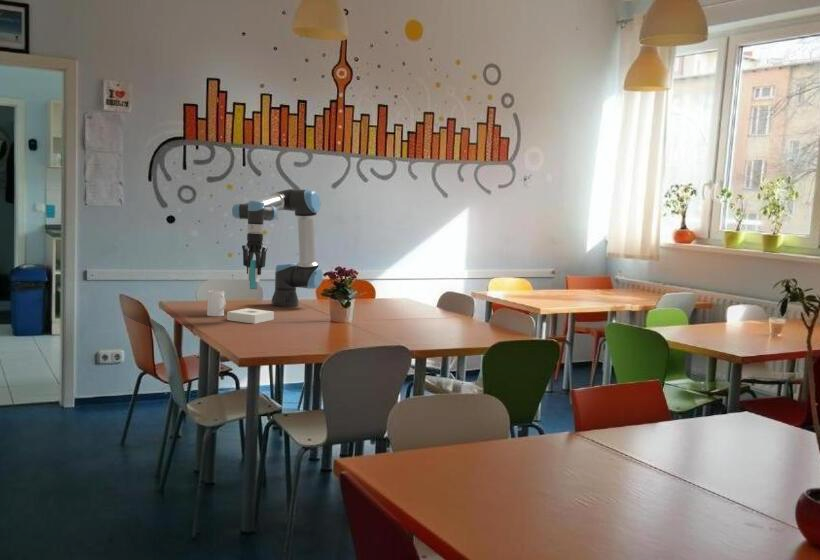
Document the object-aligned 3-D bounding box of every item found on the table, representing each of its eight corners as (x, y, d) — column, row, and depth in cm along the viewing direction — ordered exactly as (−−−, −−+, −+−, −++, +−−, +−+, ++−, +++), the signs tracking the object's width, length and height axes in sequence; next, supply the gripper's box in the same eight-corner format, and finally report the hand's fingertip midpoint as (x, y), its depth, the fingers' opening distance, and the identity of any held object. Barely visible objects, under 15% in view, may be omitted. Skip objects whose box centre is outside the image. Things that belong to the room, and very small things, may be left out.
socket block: (227, 320, 391) (227, 311, 391) (246, 316, 406) (247, 308, 405) (254, 323, 385) (254, 315, 384) (273, 319, 399) (273, 311, 399)
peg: (248, 288, 393) (248, 260, 392) (252, 288, 396) (253, 259, 395) (254, 289, 392) (255, 260, 390) (258, 288, 395) (259, 260, 393)
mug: (231, 316, 402) (231, 292, 401) (215, 317, 396) (216, 293, 395) (218, 313, 410) (219, 289, 409) (203, 314, 405) (204, 290, 403)
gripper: (236, 232, 391) (234, 280, 393) (265, 234, 385) (263, 283, 387) (245, 231, 398) (243, 279, 400) (274, 233, 391) (272, 282, 394)
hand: (253, 281), depth 394 cm, fingers closed on peg, 3 cm apart
